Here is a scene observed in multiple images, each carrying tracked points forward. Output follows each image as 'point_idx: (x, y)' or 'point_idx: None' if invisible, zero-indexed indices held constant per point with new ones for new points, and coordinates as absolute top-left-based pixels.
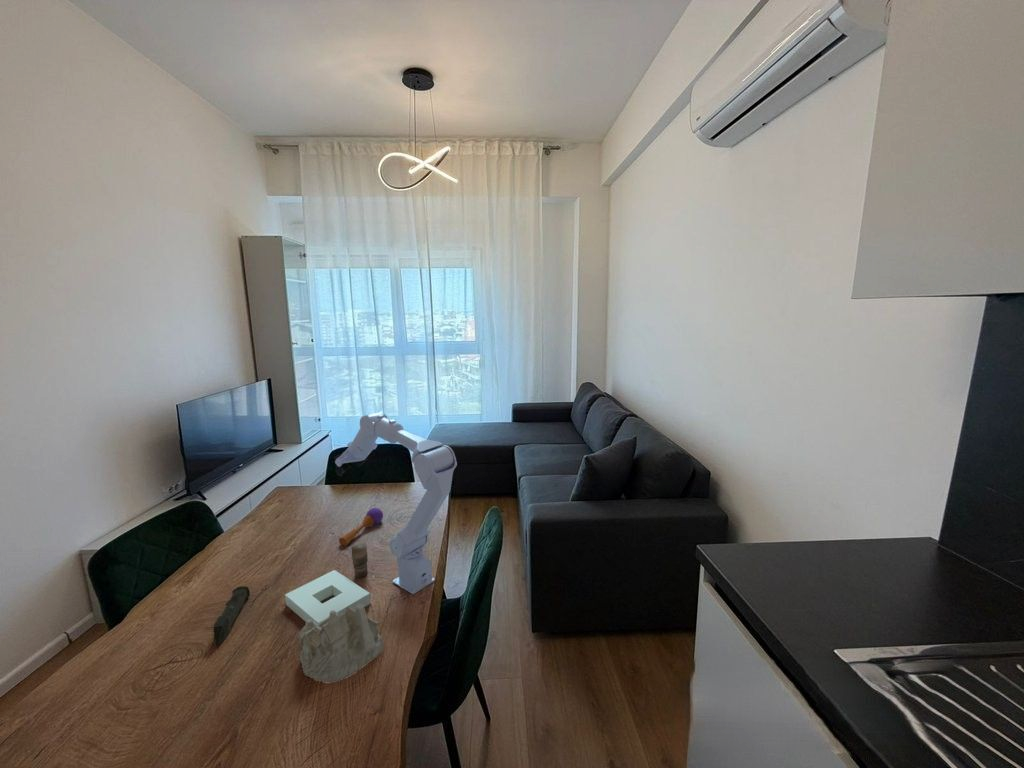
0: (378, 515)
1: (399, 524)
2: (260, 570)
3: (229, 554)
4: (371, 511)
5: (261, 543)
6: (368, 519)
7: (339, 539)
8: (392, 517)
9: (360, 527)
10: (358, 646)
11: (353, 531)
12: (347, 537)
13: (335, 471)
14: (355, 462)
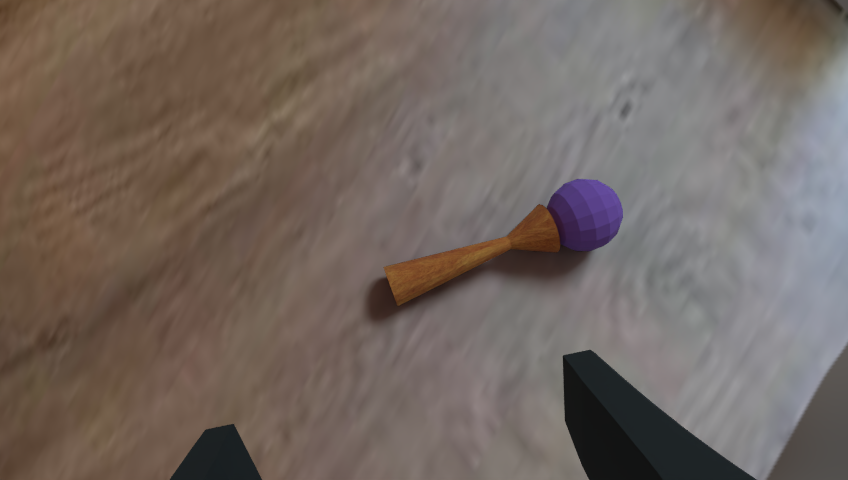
0: (591, 243)
1: (635, 320)
2: (110, 203)
3: (111, 13)
4: (579, 210)
5: (215, 26)
6: (542, 239)
7: (384, 269)
8: (645, 240)
9: (491, 255)
10: None
11: (451, 267)
12: (409, 291)
13: (193, 448)
14: (566, 370)
